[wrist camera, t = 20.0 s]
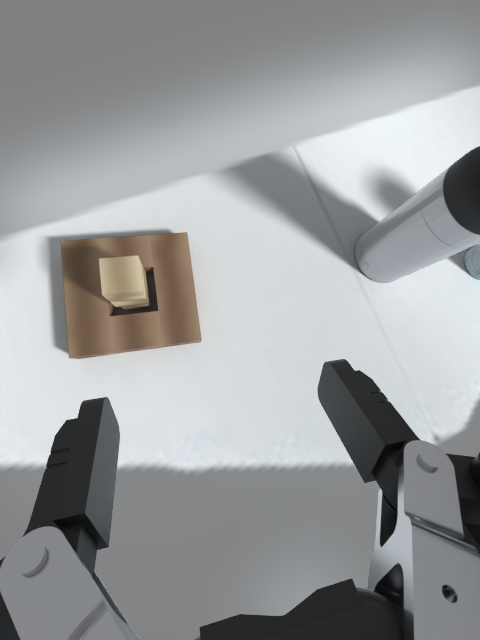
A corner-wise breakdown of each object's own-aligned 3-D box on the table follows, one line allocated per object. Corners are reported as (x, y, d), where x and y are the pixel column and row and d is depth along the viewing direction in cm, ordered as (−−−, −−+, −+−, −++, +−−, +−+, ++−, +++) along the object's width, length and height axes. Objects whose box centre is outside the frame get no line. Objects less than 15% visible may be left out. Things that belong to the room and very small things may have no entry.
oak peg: (149, 282, 42) (138, 255, 32) (152, 309, 41) (141, 291, 32) (119, 284, 41) (98, 258, 31) (122, 312, 41) (102, 295, 31)
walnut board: (187, 241, 44) (186, 232, 41) (200, 341, 42) (201, 339, 39) (69, 250, 41) (60, 240, 38) (78, 358, 39) (69, 357, 36)
